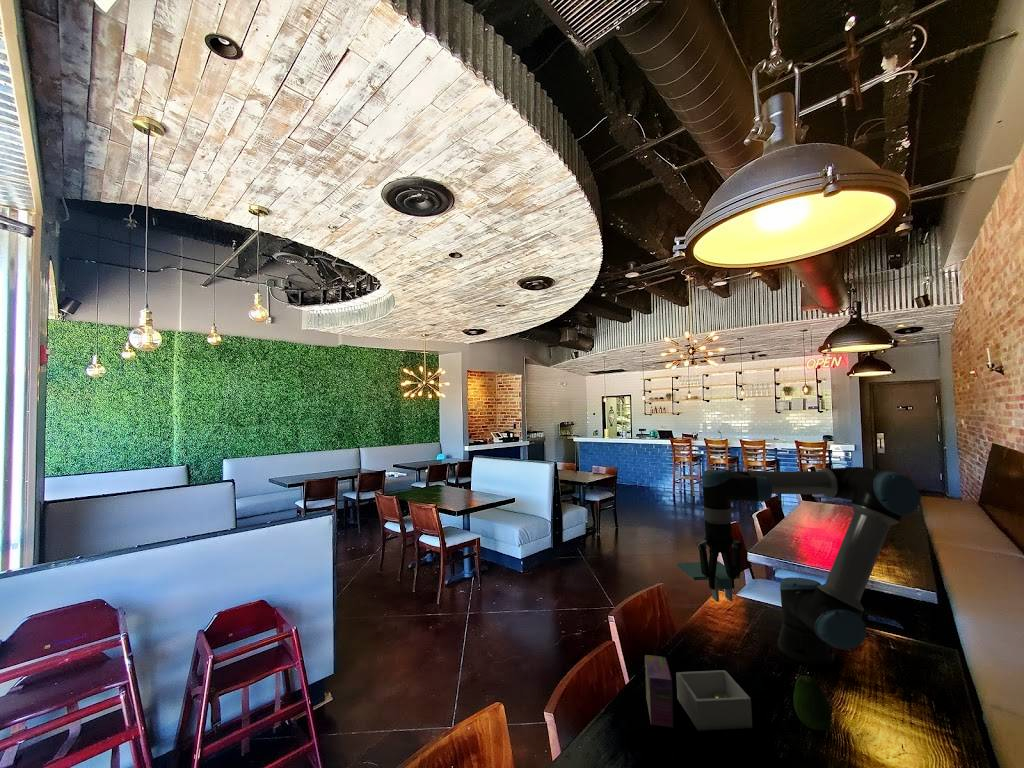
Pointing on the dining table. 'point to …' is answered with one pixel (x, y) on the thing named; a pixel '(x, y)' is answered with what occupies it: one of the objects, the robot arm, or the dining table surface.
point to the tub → (713, 700)
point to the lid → (696, 574)
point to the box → (659, 691)
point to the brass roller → (721, 696)
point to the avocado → (811, 704)
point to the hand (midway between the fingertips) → (722, 599)
